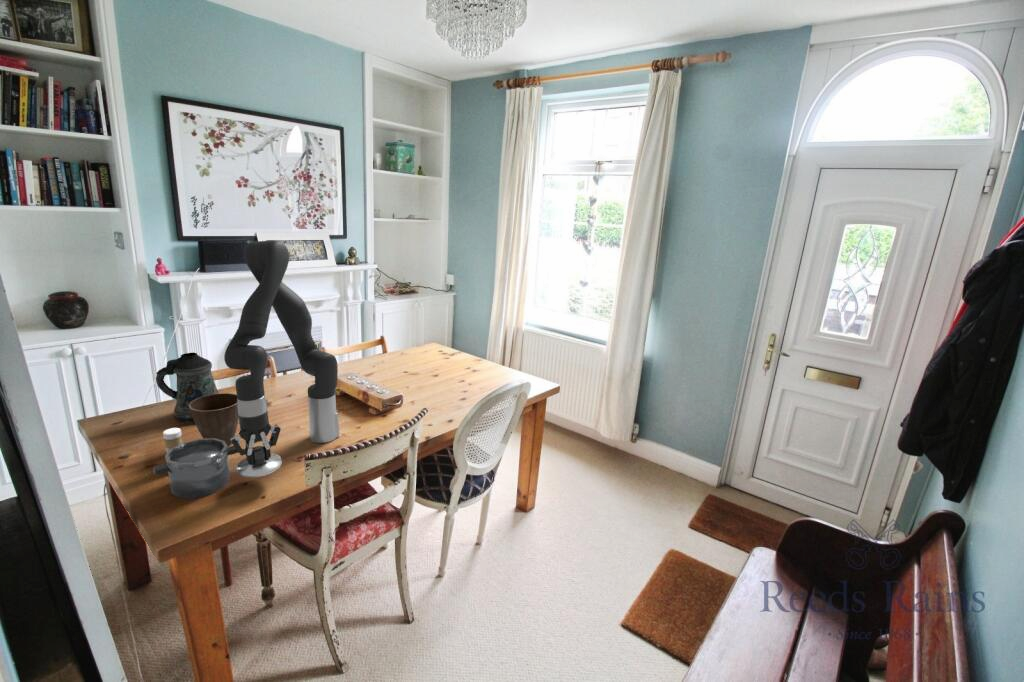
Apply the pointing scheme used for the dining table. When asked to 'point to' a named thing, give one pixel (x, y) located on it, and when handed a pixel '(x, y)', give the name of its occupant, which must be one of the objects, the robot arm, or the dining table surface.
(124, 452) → the dining table surface
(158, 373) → the beer stein
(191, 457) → the pot
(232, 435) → the plant pot
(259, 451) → the lid
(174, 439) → the sprinkles bottle
